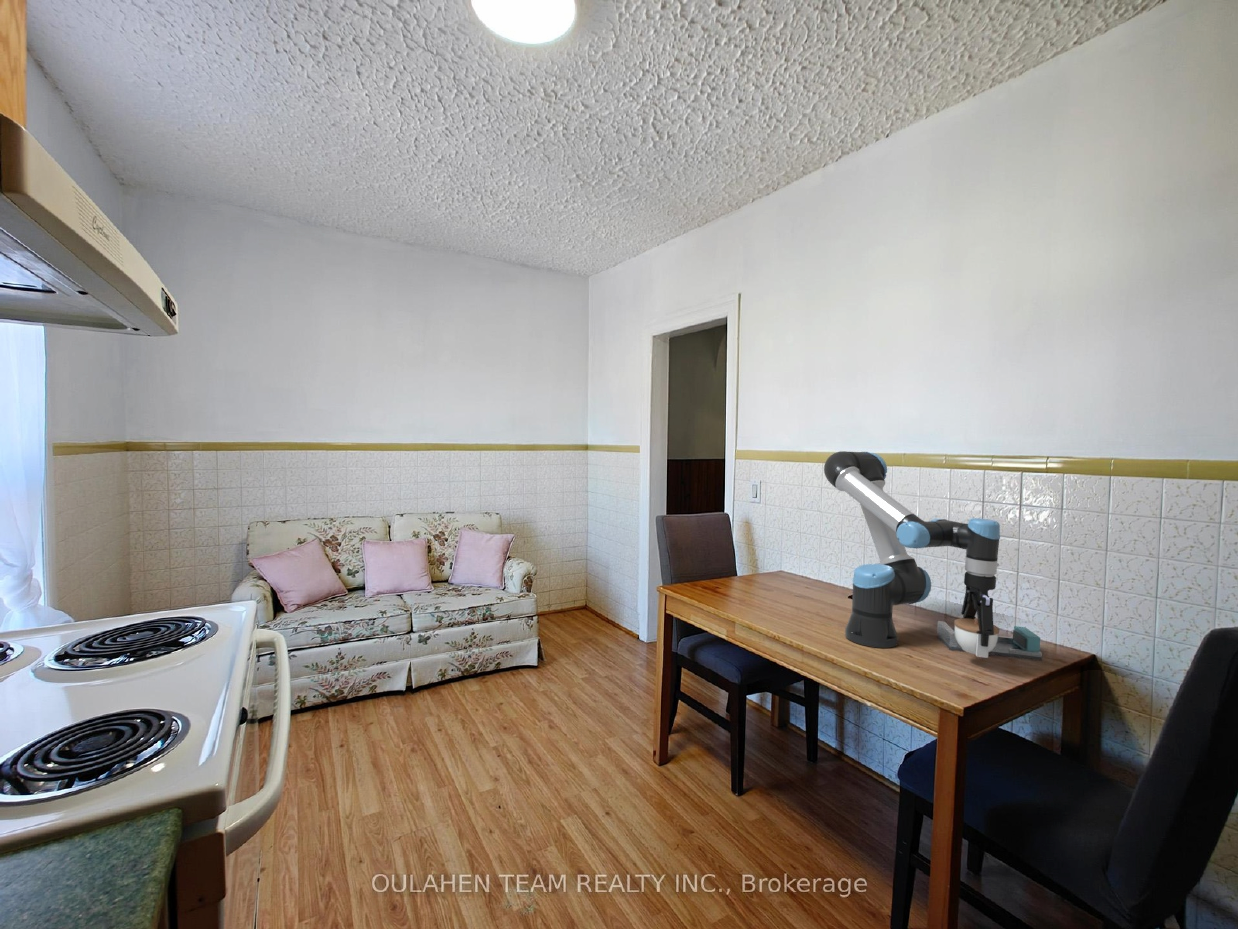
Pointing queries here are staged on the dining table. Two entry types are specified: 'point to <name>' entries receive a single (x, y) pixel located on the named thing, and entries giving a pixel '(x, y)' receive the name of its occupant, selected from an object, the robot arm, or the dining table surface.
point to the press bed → (1002, 648)
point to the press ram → (1026, 639)
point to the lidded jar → (971, 634)
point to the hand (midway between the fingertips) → (974, 649)
